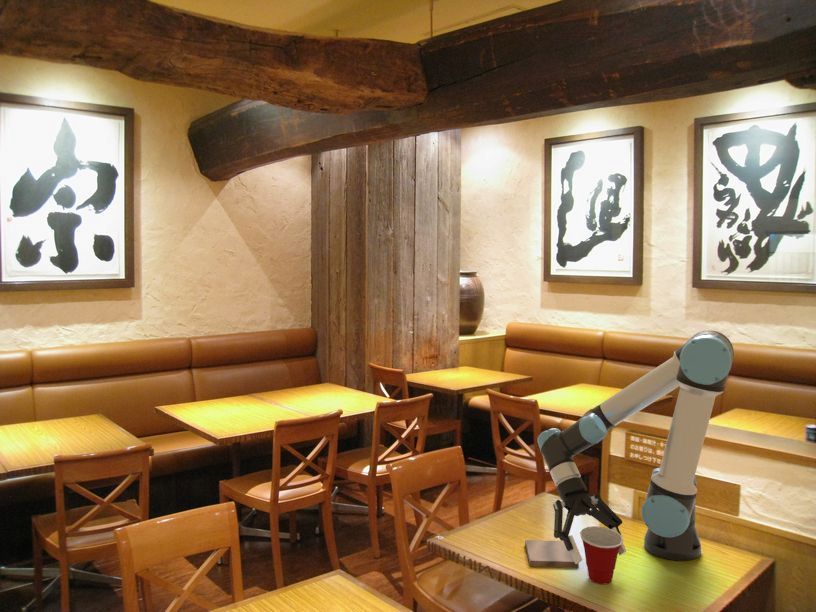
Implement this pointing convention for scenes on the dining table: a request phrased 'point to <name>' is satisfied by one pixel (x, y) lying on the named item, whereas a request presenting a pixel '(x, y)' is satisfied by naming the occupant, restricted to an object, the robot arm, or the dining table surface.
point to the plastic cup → (601, 552)
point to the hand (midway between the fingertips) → (601, 557)
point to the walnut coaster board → (549, 554)
